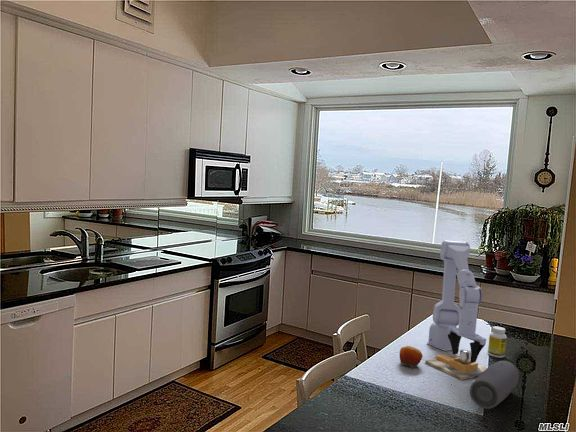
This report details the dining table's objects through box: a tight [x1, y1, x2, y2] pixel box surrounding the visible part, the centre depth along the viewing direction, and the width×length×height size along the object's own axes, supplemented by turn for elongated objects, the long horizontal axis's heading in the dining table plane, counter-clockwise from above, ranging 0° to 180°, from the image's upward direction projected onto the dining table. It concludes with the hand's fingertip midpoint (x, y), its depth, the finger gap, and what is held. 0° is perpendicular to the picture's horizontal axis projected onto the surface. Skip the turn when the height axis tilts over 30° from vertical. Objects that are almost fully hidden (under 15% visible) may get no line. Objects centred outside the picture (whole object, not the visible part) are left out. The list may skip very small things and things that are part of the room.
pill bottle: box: [487, 325, 507, 359], centre depth 187 cm, size 6×6×11 cm
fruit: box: [399, 345, 424, 370], centre depth 171 cm, size 8×8×8 cm
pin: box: [459, 349, 471, 365], centre depth 169 cm, size 4×4×6 cm
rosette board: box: [424, 353, 488, 381], centre depth 172 cm, size 17×16×1 cm
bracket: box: [435, 353, 479, 373], centre depth 172 cm, size 14×7×3 cm, turn 33°
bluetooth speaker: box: [469, 360, 520, 410], centre depth 147 cm, size 23×9×10 cm, turn 141°
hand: (464, 357), depth 169 cm, fingers open, 7 cm apart
